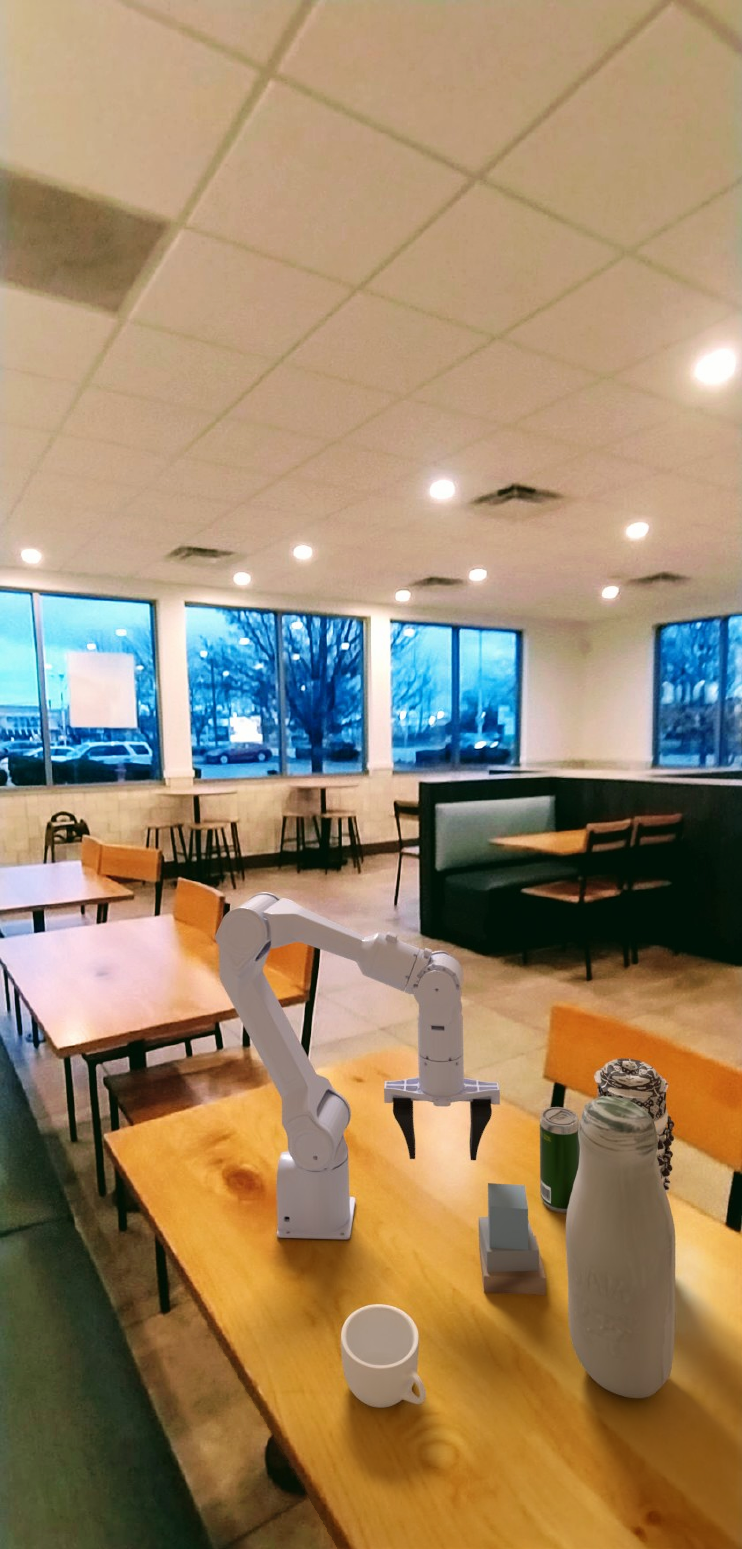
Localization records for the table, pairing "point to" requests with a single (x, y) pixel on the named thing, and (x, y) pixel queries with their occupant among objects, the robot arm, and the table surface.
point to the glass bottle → (621, 1252)
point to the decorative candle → (641, 1100)
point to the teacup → (381, 1356)
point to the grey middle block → (508, 1253)
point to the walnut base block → (513, 1279)
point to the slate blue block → (507, 1216)
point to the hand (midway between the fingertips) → (442, 1155)
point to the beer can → (558, 1156)
